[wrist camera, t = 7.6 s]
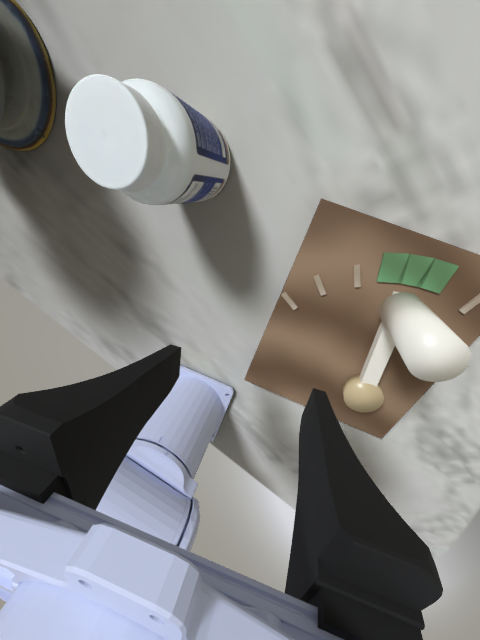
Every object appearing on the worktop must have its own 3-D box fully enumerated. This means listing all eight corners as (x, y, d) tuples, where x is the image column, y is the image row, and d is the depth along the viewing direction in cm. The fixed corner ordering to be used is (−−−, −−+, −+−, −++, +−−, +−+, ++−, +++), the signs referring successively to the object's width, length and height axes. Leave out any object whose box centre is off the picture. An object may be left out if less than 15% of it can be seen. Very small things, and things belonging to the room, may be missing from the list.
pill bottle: (168, 109, 18) (39, 33, 10) (239, 127, 17) (169, 63, 9) (162, 192, 21) (56, 190, 12) (223, 210, 20) (157, 221, 12)
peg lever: (373, 406, 22) (396, 486, 16) (338, 397, 23) (347, 471, 17) (426, 291, 17) (488, 343, 11) (379, 283, 18) (414, 329, 12)
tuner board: (378, 428, 25) (381, 440, 24) (247, 372, 26) (243, 381, 25) (522, 270, 17) (538, 276, 16) (321, 198, 18) (321, 198, 17)
